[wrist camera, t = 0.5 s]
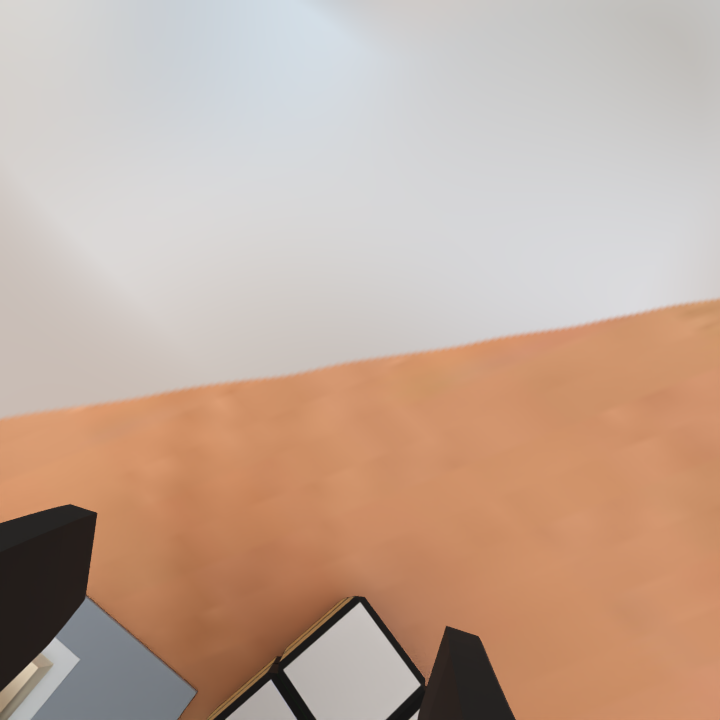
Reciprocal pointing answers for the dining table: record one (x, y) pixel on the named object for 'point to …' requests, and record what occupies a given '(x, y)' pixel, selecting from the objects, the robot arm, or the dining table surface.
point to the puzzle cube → (334, 674)
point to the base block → (23, 685)
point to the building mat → (103, 675)
